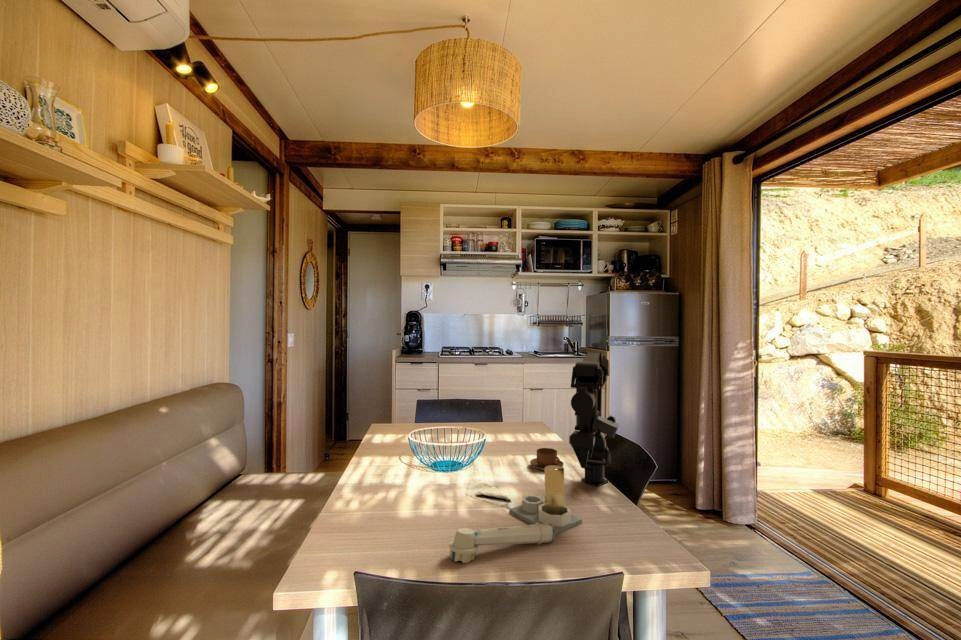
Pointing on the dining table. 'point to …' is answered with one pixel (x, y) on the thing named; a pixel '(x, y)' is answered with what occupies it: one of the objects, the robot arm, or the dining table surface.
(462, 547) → the cream long-handled tool
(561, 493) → the brass tumbler cup
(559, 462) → the cup and saucer
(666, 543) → the dining table surface
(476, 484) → the cloth
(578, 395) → the robot arm
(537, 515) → the board
